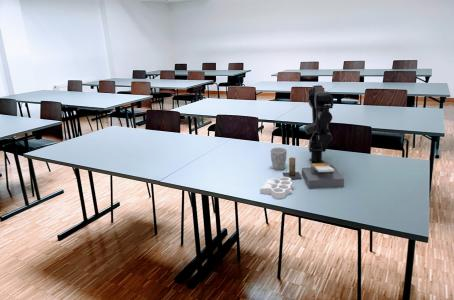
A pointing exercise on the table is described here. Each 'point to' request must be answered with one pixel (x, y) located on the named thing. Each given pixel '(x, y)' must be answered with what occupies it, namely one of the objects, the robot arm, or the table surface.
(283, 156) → the mug
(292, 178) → the black mat
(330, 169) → the white and orange panel
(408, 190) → the table surface
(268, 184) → the white lobed tray
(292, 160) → the walnut cylinder
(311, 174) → the grey square block
